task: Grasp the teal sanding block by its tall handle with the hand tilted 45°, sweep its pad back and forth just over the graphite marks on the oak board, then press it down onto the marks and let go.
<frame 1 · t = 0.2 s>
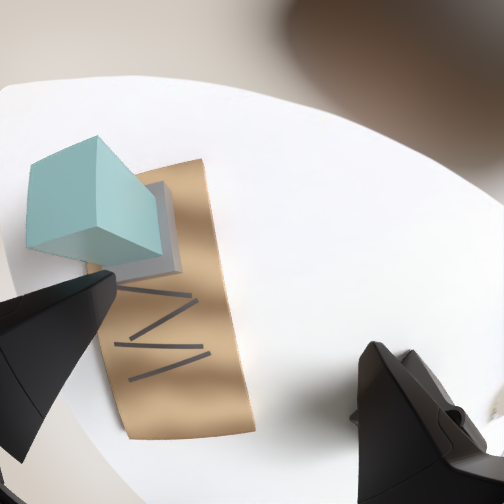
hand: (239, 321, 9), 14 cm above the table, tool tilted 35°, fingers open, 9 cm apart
phone stand: (396, 399, 22), on the table
sanding block: (143, 238, 22), point 1 cm above the table, touching oak board
oak board: (159, 308, 23), on the table
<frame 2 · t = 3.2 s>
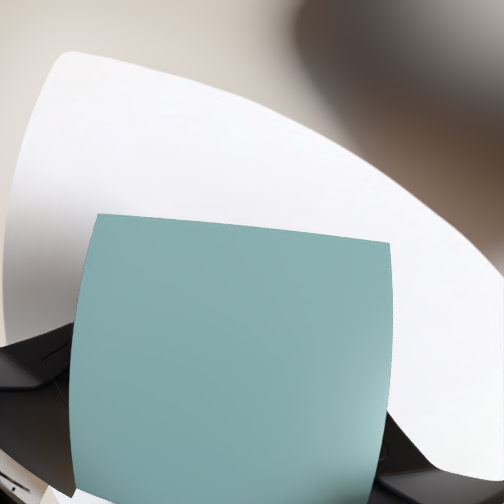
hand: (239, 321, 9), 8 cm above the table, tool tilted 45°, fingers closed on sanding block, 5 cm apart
sanding block: (231, 354, 14), point 2 cm above the table, touching gripper, oak board
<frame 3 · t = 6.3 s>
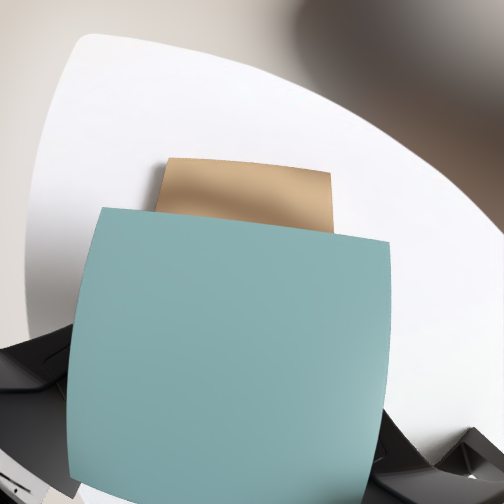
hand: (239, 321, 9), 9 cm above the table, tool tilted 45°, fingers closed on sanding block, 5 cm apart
phone stand: (444, 476, 13), on the table
sanding block: (233, 353, 15), point 2 cm above the table, touching gripper
oak board: (233, 337, 17), on the table
when the fingers open (8 cm above the table, at t = 9.5 s): sanding block stays where it is, resting on oak board.
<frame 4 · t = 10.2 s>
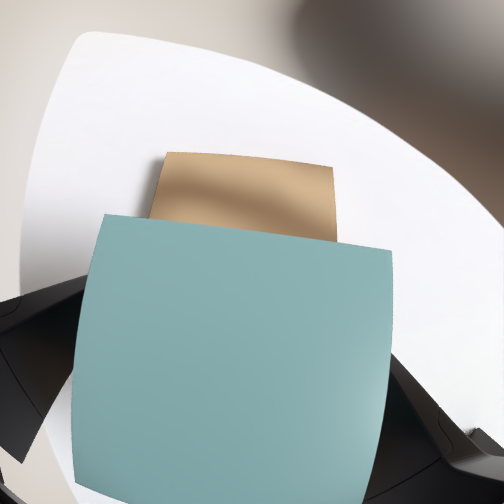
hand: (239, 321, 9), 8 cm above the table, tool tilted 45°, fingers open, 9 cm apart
phone stand: (449, 478, 13), on the table
sanding block: (233, 354, 15), point 2 cm above the table, touching oak board
oak board: (232, 337, 16), on the table
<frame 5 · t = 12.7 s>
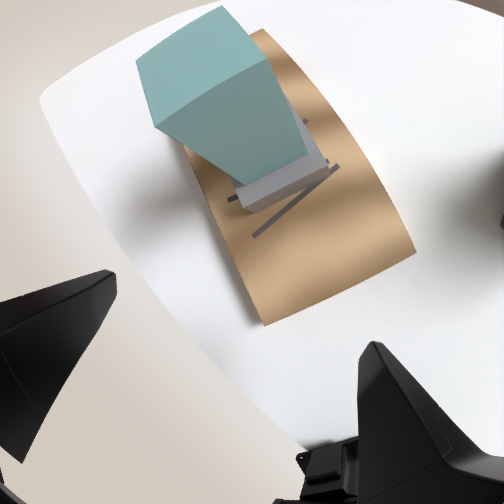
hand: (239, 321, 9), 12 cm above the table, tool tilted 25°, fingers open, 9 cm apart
sanding block: (271, 154, 20), point 2 cm above the table, touching oak board
oak board: (269, 151, 21), on the table
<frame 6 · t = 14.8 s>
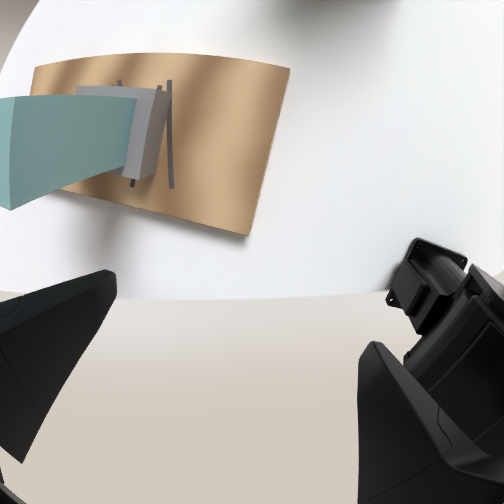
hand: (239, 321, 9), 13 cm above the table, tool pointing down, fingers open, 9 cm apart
sanding block: (123, 126, 17), point 2 cm above the table, touching oak board
oak board: (123, 126, 19), on the table
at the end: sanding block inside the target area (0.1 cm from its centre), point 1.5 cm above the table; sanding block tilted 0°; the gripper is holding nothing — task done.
